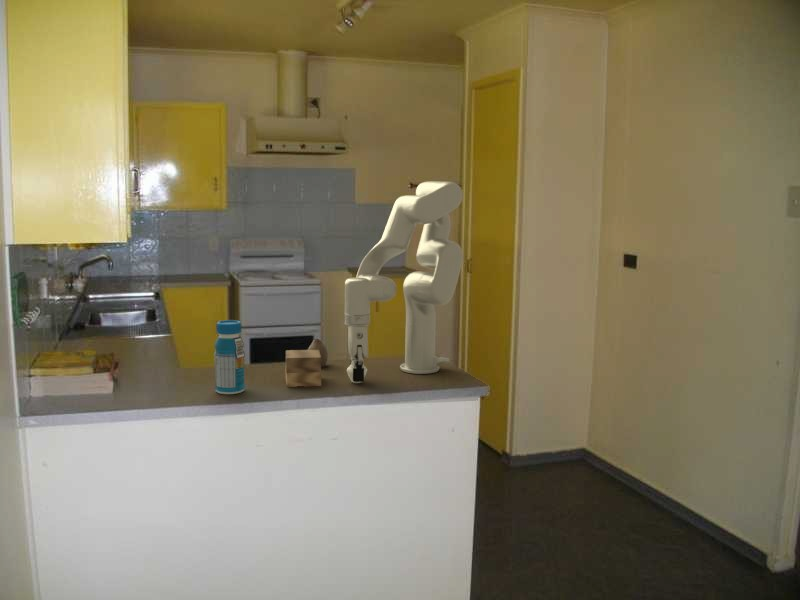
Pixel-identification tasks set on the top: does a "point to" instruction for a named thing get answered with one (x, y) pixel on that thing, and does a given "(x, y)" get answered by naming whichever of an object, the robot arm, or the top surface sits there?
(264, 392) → the top surface
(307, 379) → the tower base
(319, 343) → the vase
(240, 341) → the beverage bottle
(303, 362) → the tower top
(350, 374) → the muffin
